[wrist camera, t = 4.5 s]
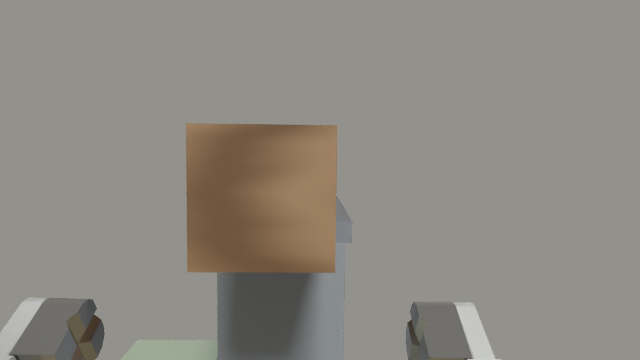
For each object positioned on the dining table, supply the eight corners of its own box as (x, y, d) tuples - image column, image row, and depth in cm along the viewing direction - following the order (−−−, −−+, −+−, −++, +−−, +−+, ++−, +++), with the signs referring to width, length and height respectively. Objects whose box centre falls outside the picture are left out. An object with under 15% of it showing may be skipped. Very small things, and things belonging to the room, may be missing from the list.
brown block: (187, 272, 12) (186, 123, 11) (266, 192, 34) (267, 140, 33) (335, 273, 12) (337, 125, 12) (318, 192, 34) (319, 141, 34)
